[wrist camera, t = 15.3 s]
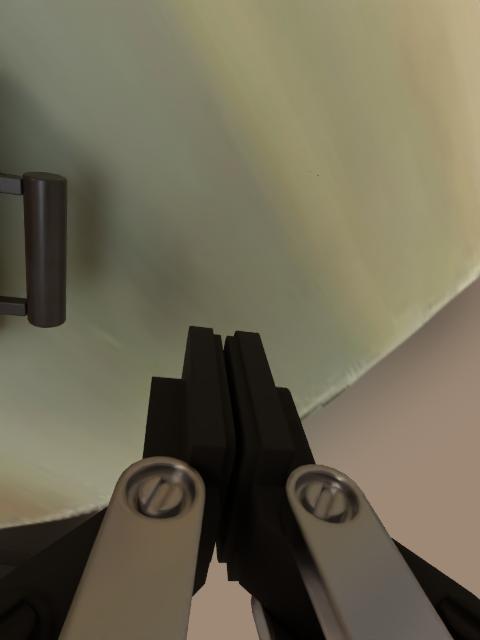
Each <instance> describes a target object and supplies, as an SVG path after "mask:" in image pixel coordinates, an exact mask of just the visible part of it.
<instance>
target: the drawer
mask: <svg viewBox="0 0 480 640" xmlns="http://www.w3.org/2000/svg"><path fill="white" fill-rule="evenodd" d="M0 192H1V193H8V194H14V195H23V198H24V228H25V257H26V287H27V299H25V298H16V297H7V296H0V314H6V315H16V316H26V315H27V317H28V321H29V323H30V324H32V325H34V326H37V327H42V328H51V327H56V326H59V325H62V324H63V323H64V322H65V320H66V258H67V179H66V178H65V177H63V176H61V175H57V174H52V173H46V172H27V173H24V174H23V176H16V175H10V174H3V173H0Z"/></svg>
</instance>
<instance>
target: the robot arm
mask: <svg viewBox="0 0 480 640" xmlns="http://www.w3.org/2000/svg"><path fill="white" fill-rule="evenodd" d="M215 542H216V547H217V559H218V562H219V563H227V574H228V581H239V584H240V585H241V586H242V587H244V588H245V589H246V590H247V591H248V592H249V593H250V594H251V595H252V597H251V606H252V613H253V617H254V621H255V624H256V628H257V632H258V635H259V639H260V640H480V599H478V598H477V597H476V596H475V595H473V594H472V593H471V592H469V591H468V590H467V589H465V588H464V587H462V586H461V585H459V584H458V583H456V582H455V581H454V580H452V579H451V578H449V577H448V576H446V575H445V574H443V573H442V572H441V571H439V570H438V569H436V568H435V567H433V566H432V565H430V564H429V563H427V562H426V561H425V560H423V559H422V558H420V557H419V556H417V555H416V554H414V553H413V552H411V551H410V550H409V549H407V548H406V547H404V546H403V545H401V544H400V543H398V542H397V541H396V540H394V539H393V538H391V537H390V535H389V534H388V532H387V531H386V529H385V527H384V526H383V524H382V522H381V521H380V519H379V518H378V516H377V514H376V513H375V511H374V509H373V508H372V506H371V505H370V503H369V501H368V500H367V498H366V496H365V495H364V493H363V492H362V490H361V489H360V488H359V487H358V485H357V484H356V483H355V482H354V481H353V480H352V479H350V478H349V477H348V476H347V475H346V474H344V473H342V472H340V471H338V470H336V469H334V468H331V467H328V466H324V465H316V464H315V461H314V458H313V455H312V452H311V449H310V447H309V444H308V441H307V438H306V435H305V432H304V430H303V427H302V424H301V421H300V418H299V415H298V412H297V410H296V407H295V404H294V401H293V398H292V395H291V393H290V391H289V389H287V388H282V387H275V383H274V380H273V377H272V374H271V370H270V367H269V364H268V361H267V357H266V354H265V351H264V348H263V344H262V341H261V338H260V335H259V333H253V332H243V331H236V332H235V334H234V336H227V337H226V340H225V345H224V350H223V347H222V340H221V335H216V334H213V329H212V328H205V327H196V326H189V331H188V337H187V344H186V351H185V358H184V365H183V372H182V379H175V378H163V377H152V381H151V390H150V399H149V407H148V416H147V424H146V433H145V442H144V450H143V459H142V460H140V461H138V462H136V463H133V464H132V465H131V466H129V467H128V468H127V469H126V470H125V471H124V472H123V473H122V475H121V476H120V478H119V480H118V481H117V484H116V486H115V489H114V492H113V494H112V497H111V500H110V502H109V505H108V507H106V508H105V509H103V510H102V511H100V512H99V513H97V514H96V515H94V516H93V517H91V518H90V519H88V520H87V521H85V522H84V523H82V524H81V525H80V526H78V527H77V528H75V529H74V530H72V531H71V532H69V533H68V534H66V535H65V536H63V537H62V538H60V539H59V540H57V541H56V542H54V543H53V544H51V545H50V546H48V547H47V548H46V549H44V550H43V551H41V552H40V553H38V554H37V555H35V556H34V557H32V558H31V559H29V560H28V561H26V562H25V563H23V564H22V565H20V566H19V567H17V568H16V569H14V570H13V571H12V572H10V573H9V574H7V575H6V576H4V577H3V578H1V579H0V640H186V638H187V630H188V623H189V615H190V607H191V600H192V597H193V596H194V595H195V593H196V592H197V591H198V590H199V589H200V588H201V587H202V586H203V585H204V584H205V581H206V577H207V572H208V568H209V563H210V562H211V559H212V555H213V551H214V547H215Z"/></svg>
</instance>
